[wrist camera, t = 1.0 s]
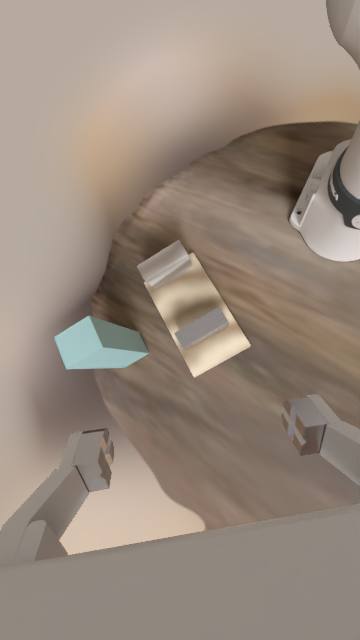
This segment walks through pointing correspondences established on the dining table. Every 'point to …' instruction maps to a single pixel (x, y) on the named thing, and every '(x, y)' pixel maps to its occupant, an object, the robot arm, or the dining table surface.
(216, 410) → the dining table surface
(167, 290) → the vise base
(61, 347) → the teal block
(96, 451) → the robot arm
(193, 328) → the block
